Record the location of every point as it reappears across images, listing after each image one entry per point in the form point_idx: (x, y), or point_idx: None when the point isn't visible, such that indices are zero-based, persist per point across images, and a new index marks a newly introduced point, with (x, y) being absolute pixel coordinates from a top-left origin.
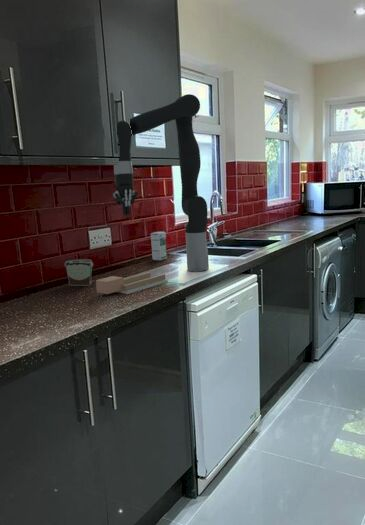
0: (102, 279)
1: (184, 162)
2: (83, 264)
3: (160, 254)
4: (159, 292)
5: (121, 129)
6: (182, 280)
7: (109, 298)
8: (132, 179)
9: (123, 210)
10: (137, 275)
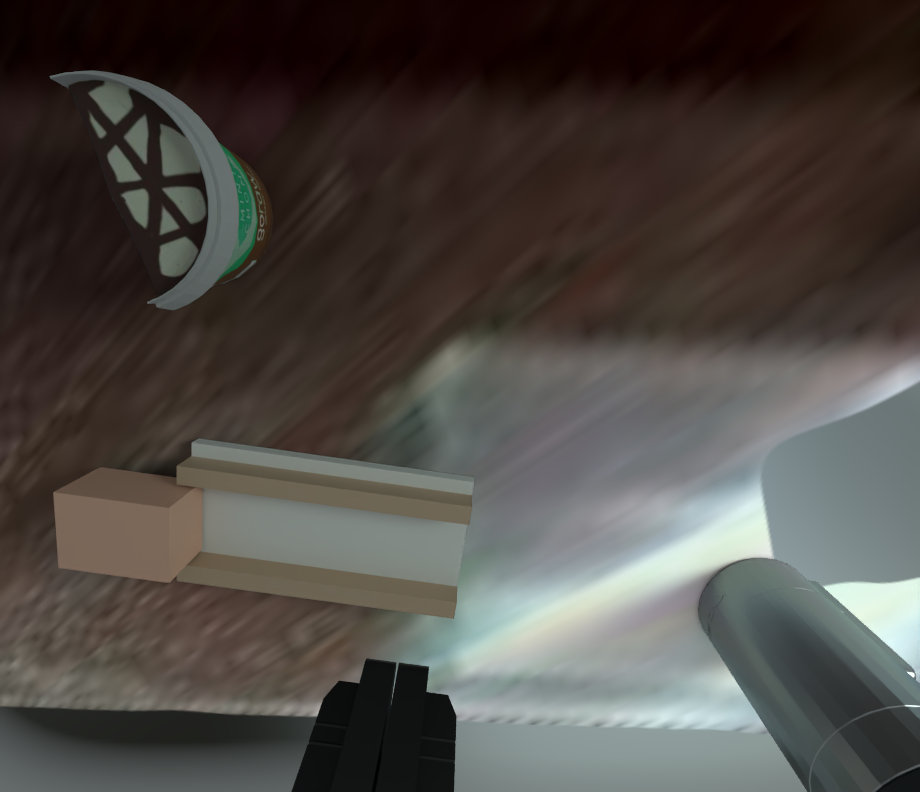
0: (83, 513)
1: None
2: (139, 246)
3: None
4: (280, 666)
5: None
6: (504, 648)
7: None
8: None
9: (304, 768)
10: (382, 502)
